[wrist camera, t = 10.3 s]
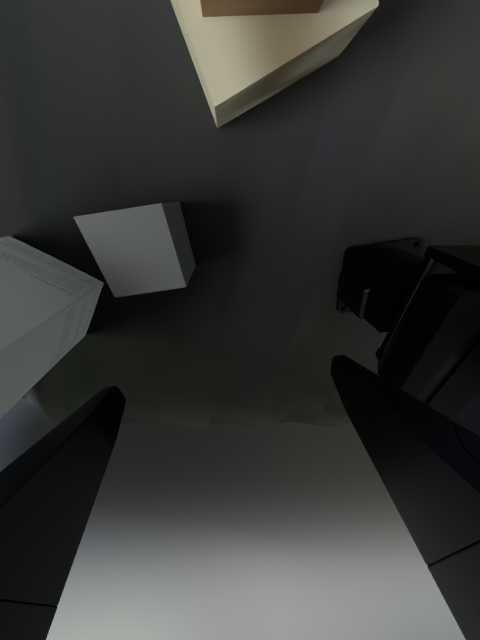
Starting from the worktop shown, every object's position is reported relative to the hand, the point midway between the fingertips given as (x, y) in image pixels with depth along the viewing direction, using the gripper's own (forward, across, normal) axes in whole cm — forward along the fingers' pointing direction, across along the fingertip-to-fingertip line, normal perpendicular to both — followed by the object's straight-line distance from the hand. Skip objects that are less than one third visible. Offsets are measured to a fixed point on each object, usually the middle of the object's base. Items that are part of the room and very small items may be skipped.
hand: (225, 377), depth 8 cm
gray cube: (+12, +5, -4) cm, 14 cm away
